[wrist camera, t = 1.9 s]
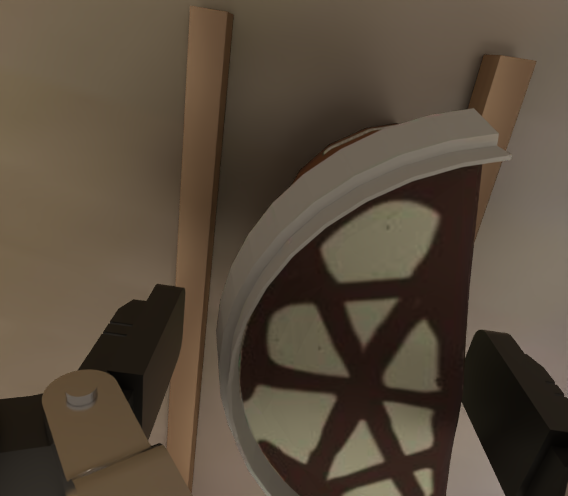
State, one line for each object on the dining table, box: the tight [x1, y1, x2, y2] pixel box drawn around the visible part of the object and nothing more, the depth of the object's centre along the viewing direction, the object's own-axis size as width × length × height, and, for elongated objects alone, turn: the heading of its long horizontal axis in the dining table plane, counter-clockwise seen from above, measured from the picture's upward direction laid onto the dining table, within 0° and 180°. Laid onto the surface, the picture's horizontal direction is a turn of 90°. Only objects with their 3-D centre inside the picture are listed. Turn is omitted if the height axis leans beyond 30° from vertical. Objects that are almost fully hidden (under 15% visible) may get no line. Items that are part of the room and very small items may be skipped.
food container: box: [216, 108, 512, 496], centre depth 15 cm, size 12×6×10 cm, turn 4°
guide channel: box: [167, 6, 537, 493], centre depth 21 cm, size 11×32×4 cm, turn 172°
